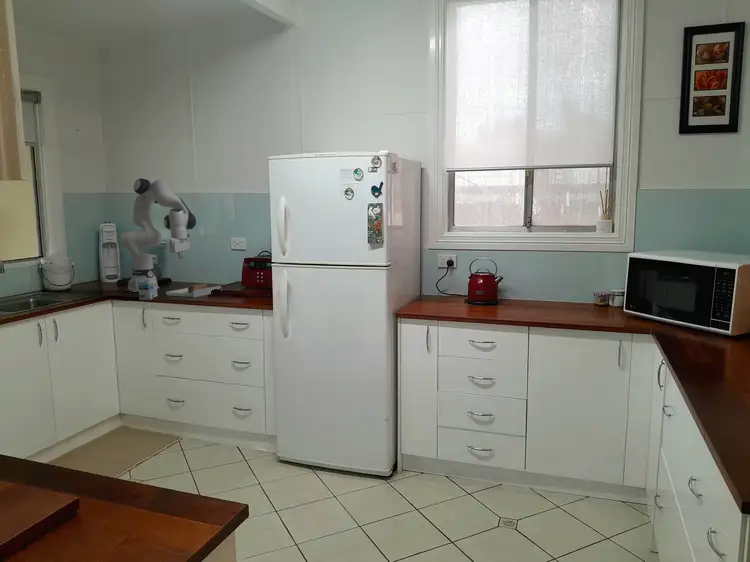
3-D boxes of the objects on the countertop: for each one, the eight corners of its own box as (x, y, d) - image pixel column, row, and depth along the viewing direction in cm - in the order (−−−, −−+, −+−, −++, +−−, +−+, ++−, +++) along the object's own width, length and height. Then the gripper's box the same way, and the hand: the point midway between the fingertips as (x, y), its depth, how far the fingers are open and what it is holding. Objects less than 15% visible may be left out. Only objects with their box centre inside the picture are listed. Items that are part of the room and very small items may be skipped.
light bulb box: (150, 299, 333) (148, 281, 332) (139, 300, 333) (137, 281, 332) (157, 296, 344) (156, 278, 342) (146, 297, 344) (144, 279, 342)
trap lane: (166, 295, 347) (165, 289, 347) (194, 289, 365) (193, 284, 364) (193, 297, 334) (193, 291, 333) (221, 291, 351) (221, 285, 351)
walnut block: (188, 292, 339) (187, 286, 338) (200, 290, 348) (200, 283, 347) (194, 293, 337) (193, 286, 336) (207, 290, 345) (206, 283, 345)
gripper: (176, 237, 333) (178, 260, 335) (191, 234, 353) (193, 256, 355) (165, 237, 334) (168, 261, 336) (181, 234, 354) (183, 256, 356)
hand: (181, 258), depth 346 cm, fingers closed
